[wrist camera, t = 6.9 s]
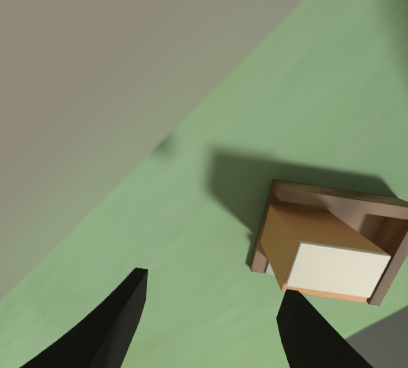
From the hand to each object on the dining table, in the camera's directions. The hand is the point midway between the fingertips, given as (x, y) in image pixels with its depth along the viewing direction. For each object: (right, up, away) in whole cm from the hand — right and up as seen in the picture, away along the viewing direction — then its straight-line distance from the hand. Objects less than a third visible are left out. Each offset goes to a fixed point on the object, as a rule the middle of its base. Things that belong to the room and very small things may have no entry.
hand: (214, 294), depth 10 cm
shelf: (+11, +1, +10) cm, 15 cm away
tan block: (+8, +1, +9) cm, 12 cm away
